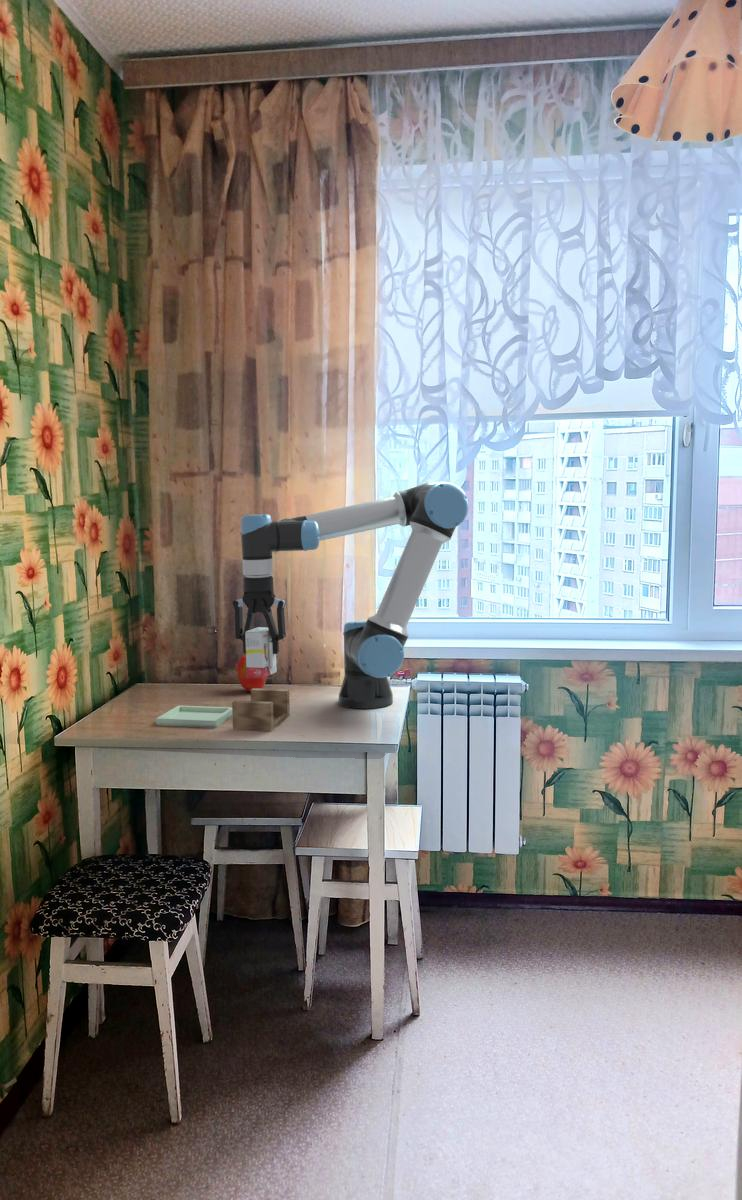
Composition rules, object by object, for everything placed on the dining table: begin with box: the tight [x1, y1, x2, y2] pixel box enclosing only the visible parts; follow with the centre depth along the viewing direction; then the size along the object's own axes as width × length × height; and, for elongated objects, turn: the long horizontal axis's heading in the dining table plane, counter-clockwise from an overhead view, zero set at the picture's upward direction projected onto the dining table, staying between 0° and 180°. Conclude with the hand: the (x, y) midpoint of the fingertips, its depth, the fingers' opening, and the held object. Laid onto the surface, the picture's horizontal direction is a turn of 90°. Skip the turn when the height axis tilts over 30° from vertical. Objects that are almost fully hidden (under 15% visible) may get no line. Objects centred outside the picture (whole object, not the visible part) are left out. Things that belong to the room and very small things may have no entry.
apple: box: [236, 654, 268, 693], centre depth 270 cm, size 9×9×12 cm
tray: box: [155, 705, 233, 729], centre depth 239 cm, size 16×14×2 cm
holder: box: [231, 688, 291, 732], centre depth 235 cm, size 10×16×7 cm, turn 168°
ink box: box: [245, 626, 278, 678], centre depth 233 cm, size 9×5×12 cm, turn 161°
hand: (261, 666), depth 233 cm, fingers closed on ink box, 5 cm apart
